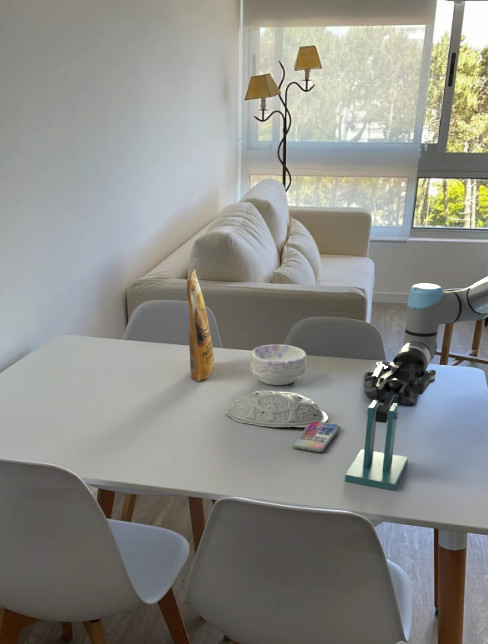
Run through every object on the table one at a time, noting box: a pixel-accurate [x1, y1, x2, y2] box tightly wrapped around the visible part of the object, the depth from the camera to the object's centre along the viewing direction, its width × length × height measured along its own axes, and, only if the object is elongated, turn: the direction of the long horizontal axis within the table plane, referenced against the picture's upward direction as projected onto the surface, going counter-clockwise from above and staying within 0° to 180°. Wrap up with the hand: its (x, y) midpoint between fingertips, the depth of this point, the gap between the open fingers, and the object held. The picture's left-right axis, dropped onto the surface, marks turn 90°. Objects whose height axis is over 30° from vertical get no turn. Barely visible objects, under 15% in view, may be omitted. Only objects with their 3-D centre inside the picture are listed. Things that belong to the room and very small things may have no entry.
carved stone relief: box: [225, 390, 329, 428], centre depth 171 cm, size 16×25×7 cm, turn 73°
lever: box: [375, 379, 403, 424], centre depth 144 cm, size 14×4×4 cm, turn 157°
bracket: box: [344, 399, 409, 492], centre depth 142 cm, size 13×10×15 cm
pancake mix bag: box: [186, 268, 215, 382], centre depth 194 cm, size 7×19×28 cm, turn 171°
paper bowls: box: [249, 344, 307, 386], centre depth 193 cm, size 15×15×8 cm
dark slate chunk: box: [363, 360, 421, 406], centre depth 187 cm, size 15×22×5 cm
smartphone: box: [291, 421, 341, 453], centre depth 160 cm, size 7×1×15 cm
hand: (389, 397), depth 143 cm, fingers closed on lever, 4 cm apart
